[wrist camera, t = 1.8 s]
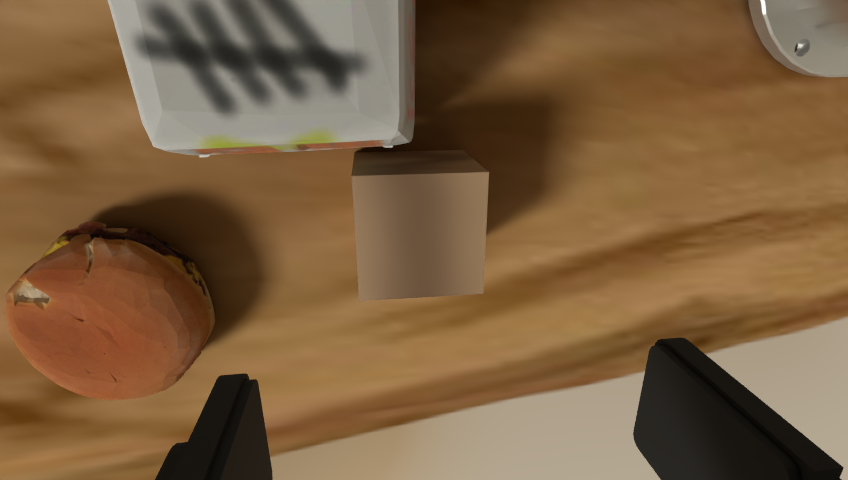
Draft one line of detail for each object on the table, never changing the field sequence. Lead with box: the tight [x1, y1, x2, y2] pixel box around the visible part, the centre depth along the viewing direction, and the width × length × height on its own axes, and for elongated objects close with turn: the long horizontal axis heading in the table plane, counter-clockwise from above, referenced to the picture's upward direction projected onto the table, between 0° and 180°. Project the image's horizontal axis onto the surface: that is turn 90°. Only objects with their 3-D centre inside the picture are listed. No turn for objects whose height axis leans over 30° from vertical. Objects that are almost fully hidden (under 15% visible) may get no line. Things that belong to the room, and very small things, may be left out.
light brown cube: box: [352, 150, 489, 301], centre depth 24 cm, size 6×6×6 cm
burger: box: [4, 222, 215, 400], centre depth 24 cm, size 10×9×5 cm
